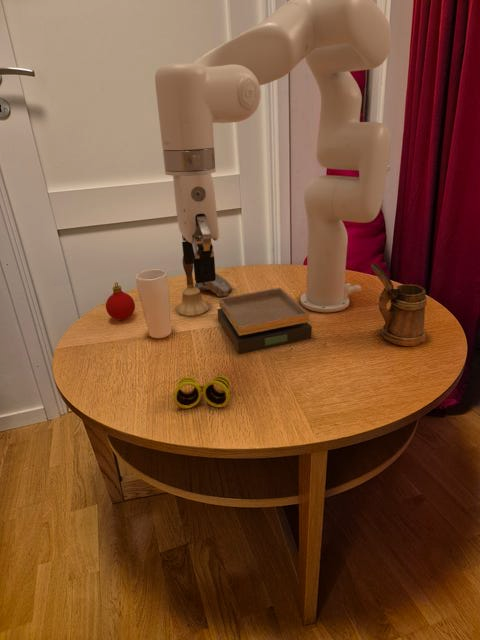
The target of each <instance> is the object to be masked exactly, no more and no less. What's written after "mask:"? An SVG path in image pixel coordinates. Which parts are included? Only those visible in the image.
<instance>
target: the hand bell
mask: <svg viewBox="0 0 480 640" xmlns="http://www.w3.org/2000/svg"><path fill="white" fill-rule="evenodd" d="M182 267H183V270H184V273H185V276H186V277H185V278H186V288H185V289H183V290H182V298H181V299H182V300H181V303H180V305H179V306H178V307H177V313H178V314H179V315H181V316H185V317H195V316H200V315H203V314H205V313H206V312H208V311H209V310H210V306H209V304H208V303H207V302H205V300H204V299H203V297H202V294H201V290H200V289H198V288H195V283H194V277H193V273H194V264H185V263H184V257H183V256H182Z"/></svg>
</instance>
